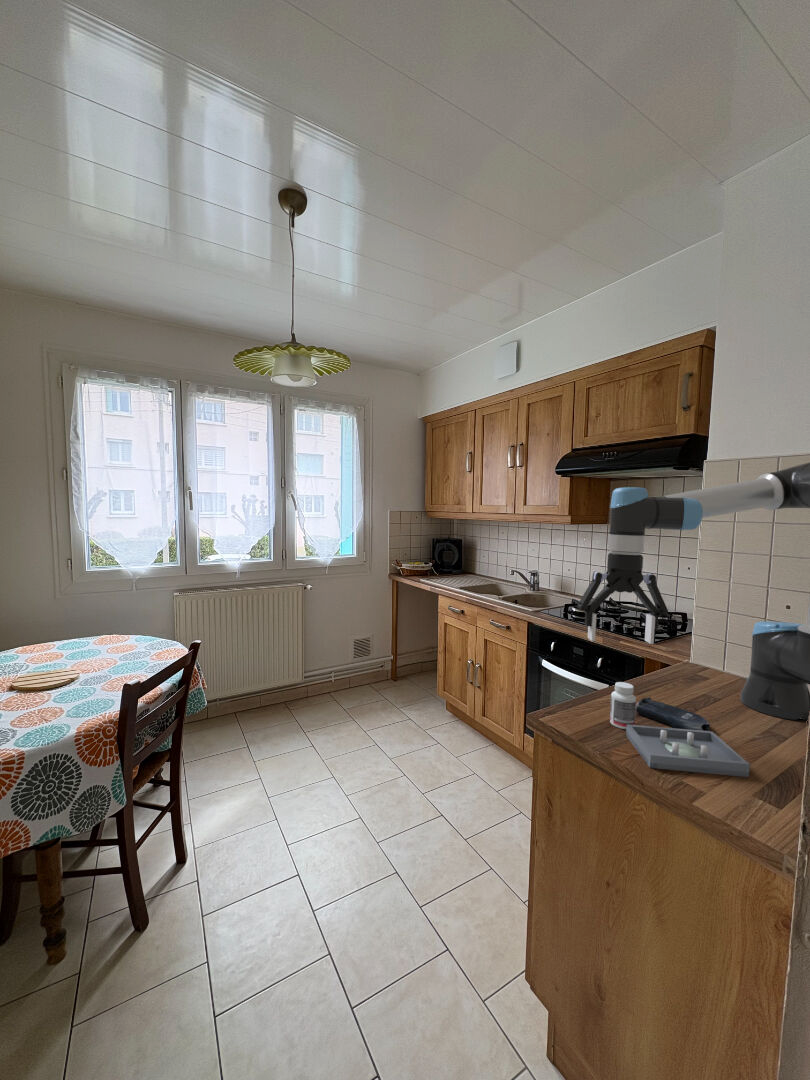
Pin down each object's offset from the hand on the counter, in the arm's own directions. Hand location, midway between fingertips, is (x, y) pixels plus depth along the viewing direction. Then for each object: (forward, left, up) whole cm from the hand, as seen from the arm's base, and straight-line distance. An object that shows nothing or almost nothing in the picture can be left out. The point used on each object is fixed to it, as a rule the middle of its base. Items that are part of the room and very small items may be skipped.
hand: (620, 641), depth 105 cm
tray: (-9, +13, -20) cm, 26 cm away
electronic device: (-15, -4, -21) cm, 25 cm away
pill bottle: (-1, +1, -20) cm, 20 cm away
